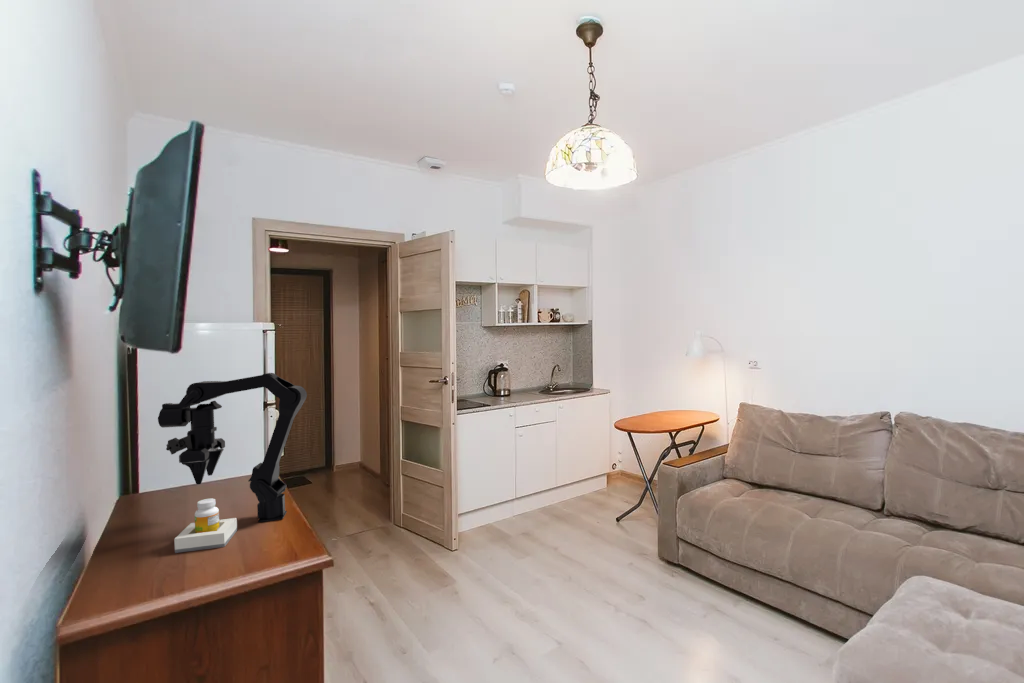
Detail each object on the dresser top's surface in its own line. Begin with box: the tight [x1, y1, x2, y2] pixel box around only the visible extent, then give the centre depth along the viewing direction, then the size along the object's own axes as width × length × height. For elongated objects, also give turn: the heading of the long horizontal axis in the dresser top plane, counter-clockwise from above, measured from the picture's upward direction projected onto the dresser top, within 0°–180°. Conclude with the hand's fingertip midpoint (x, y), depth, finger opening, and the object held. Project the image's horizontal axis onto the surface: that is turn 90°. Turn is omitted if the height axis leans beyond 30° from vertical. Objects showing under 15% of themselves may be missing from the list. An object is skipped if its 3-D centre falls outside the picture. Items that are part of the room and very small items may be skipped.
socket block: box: [174, 517, 238, 554], centre depth 127 cm, size 11×11×4 cm
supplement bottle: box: [194, 497, 220, 533], centre depth 128 cm, size 5×5×10 cm
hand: (204, 479), depth 141 cm, fingers open, 9 cm apart
